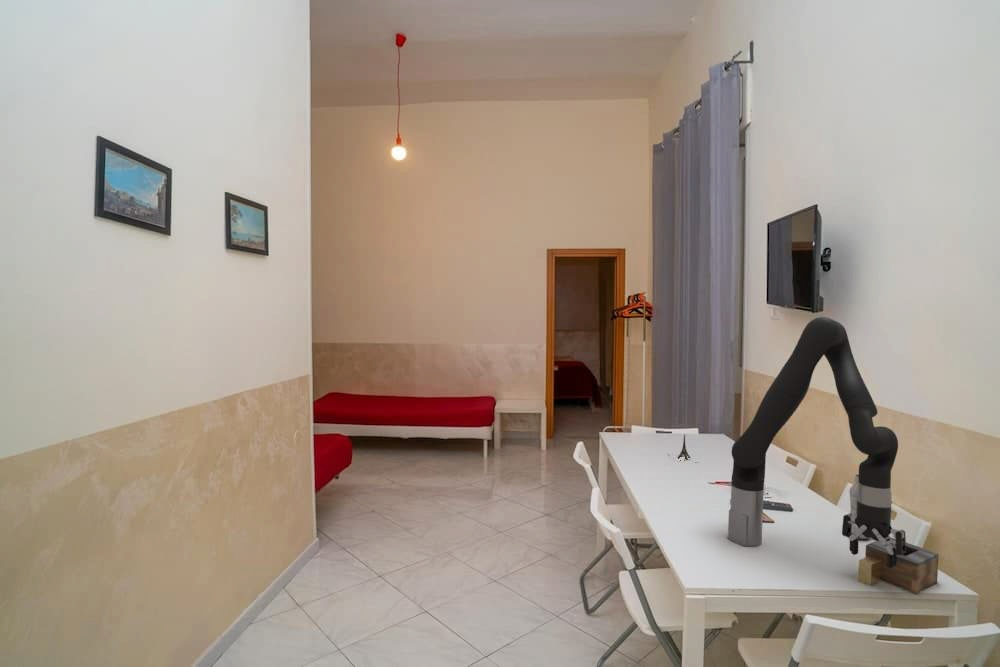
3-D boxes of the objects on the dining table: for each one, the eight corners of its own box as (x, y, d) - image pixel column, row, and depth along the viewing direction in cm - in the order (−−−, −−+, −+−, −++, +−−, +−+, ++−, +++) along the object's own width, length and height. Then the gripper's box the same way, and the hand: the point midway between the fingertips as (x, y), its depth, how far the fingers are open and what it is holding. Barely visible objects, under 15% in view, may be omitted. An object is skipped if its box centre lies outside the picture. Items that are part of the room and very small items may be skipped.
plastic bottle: (842, 535, 168) (845, 475, 167) (853, 531, 171) (856, 472, 170) (864, 543, 162) (867, 480, 161) (875, 539, 165) (878, 477, 164)
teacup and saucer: (745, 494, 205) (745, 484, 205) (752, 489, 211) (752, 480, 211) (768, 500, 199) (769, 490, 199) (775, 495, 205) (775, 485, 204)
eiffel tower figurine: (666, 455, 261) (667, 429, 260) (685, 454, 262) (686, 428, 261) (679, 464, 246) (680, 436, 245) (699, 463, 247) (700, 436, 246)
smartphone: (754, 505, 192) (775, 521, 177) (754, 507, 192) (775, 524, 177) (734, 504, 192) (754, 521, 177) (734, 506, 192) (754, 523, 177)
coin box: (915, 594, 133) (917, 563, 133) (864, 573, 143) (865, 545, 143) (937, 582, 139) (938, 553, 138) (886, 563, 149) (887, 536, 149)
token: (870, 586, 136) (871, 564, 136) (858, 581, 139) (859, 559, 139) (880, 582, 139) (881, 560, 138) (867, 577, 141) (868, 555, 141)
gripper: (838, 495, 142) (836, 553, 143) (898, 512, 130) (896, 575, 131) (852, 490, 146) (850, 546, 147) (911, 507, 134) (910, 568, 134)
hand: (872, 560), depth 139 cm, fingers open, 8 cm apart
